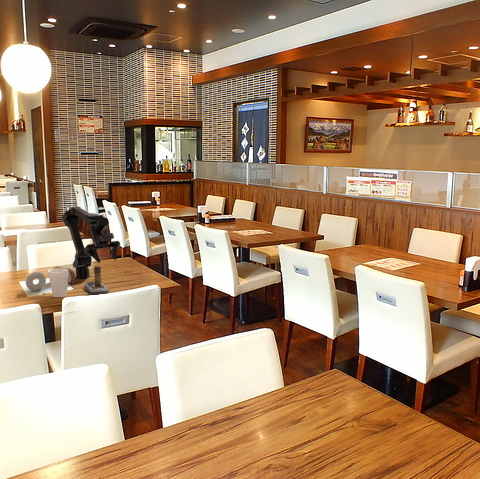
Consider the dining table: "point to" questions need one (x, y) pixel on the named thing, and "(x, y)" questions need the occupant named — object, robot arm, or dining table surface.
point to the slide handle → (97, 277)
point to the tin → (71, 275)
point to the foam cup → (58, 281)
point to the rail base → (96, 290)
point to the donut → (31, 277)
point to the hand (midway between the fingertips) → (107, 261)
